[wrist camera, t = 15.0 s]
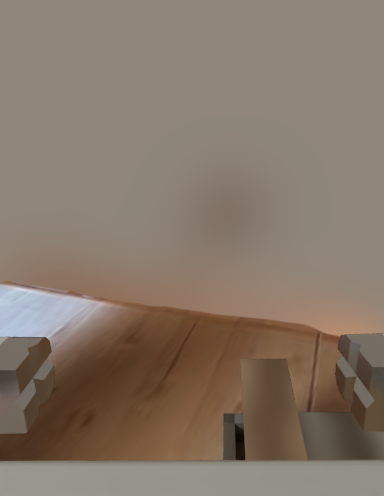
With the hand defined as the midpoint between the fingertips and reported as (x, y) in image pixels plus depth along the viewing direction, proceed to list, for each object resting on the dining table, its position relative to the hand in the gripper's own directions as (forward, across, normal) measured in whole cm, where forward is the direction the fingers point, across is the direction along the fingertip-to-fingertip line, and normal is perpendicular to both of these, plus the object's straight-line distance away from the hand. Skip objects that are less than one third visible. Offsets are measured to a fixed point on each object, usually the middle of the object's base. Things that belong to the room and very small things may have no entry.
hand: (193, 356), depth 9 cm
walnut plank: (+16, -6, +27) cm, 32 cm away
